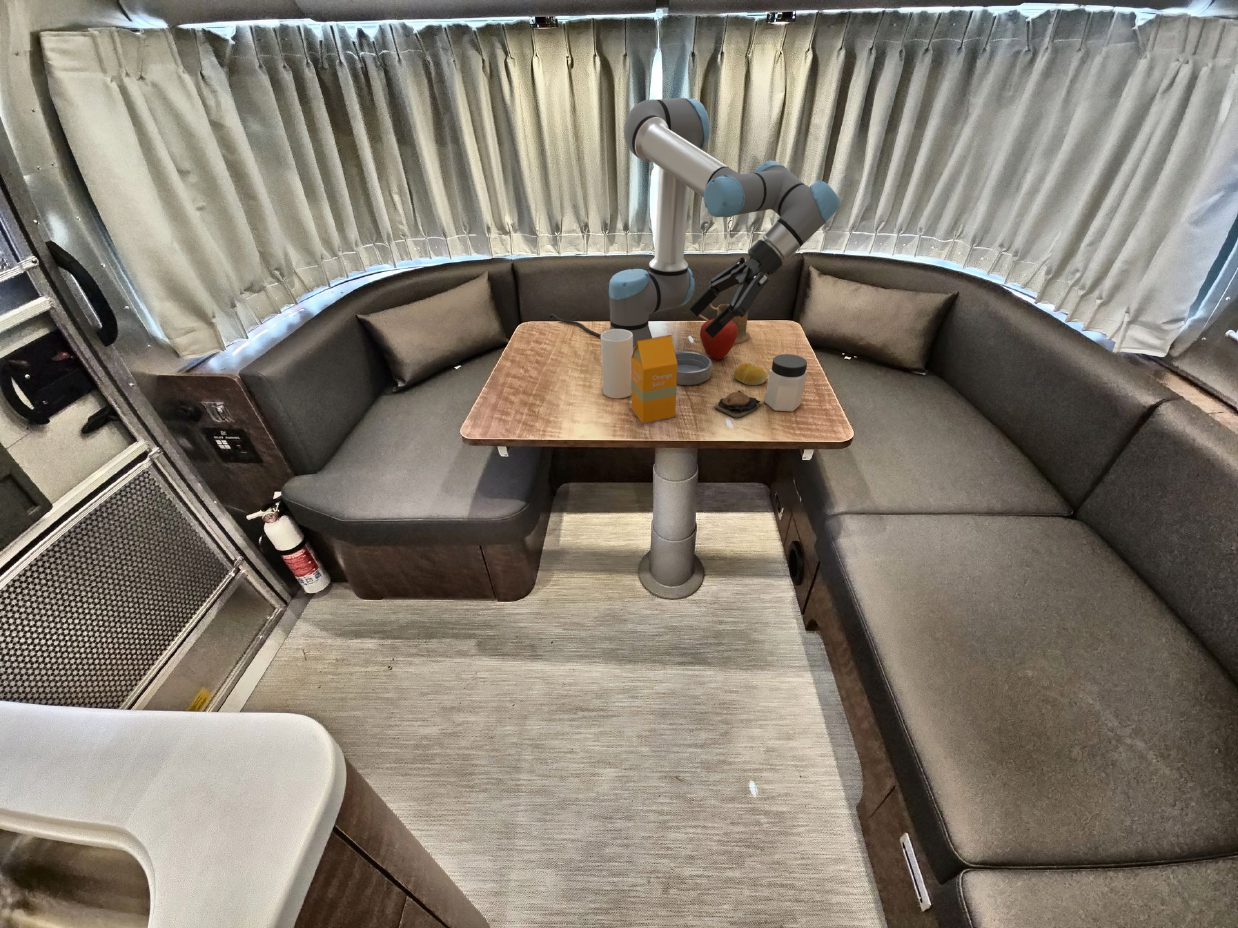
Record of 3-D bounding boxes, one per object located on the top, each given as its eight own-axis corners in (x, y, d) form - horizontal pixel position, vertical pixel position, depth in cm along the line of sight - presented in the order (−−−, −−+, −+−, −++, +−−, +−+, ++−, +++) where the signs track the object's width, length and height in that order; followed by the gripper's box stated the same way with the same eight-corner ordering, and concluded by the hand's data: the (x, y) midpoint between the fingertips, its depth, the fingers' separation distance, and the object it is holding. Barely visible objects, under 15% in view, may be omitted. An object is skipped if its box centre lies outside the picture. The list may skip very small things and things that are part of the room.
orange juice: (675, 416, 133) (679, 340, 121) (642, 423, 130) (643, 347, 119) (662, 402, 139) (664, 329, 127) (631, 409, 136) (630, 334, 125)
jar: (806, 408, 134) (815, 365, 127) (778, 415, 132) (786, 370, 125) (785, 393, 141) (793, 351, 134) (759, 399, 139) (765, 356, 132)
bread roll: (754, 389, 143) (756, 375, 141) (728, 378, 149) (729, 365, 147) (772, 379, 148) (775, 366, 145) (747, 369, 153) (748, 356, 151)
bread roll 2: (737, 420, 131) (739, 407, 128) (711, 407, 136) (712, 395, 134) (764, 405, 136) (766, 393, 134) (738, 394, 141) (739, 381, 139)
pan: (651, 373, 153) (651, 360, 151) (687, 360, 159) (688, 347, 157) (683, 391, 144) (684, 377, 141) (721, 376, 150) (722, 363, 148)
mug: (699, 326, 182) (702, 291, 175) (751, 332, 176) (756, 296, 169) (689, 338, 173) (691, 302, 166) (743, 346, 167) (748, 308, 160)
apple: (701, 348, 166) (704, 310, 159) (736, 351, 164) (740, 313, 157) (695, 363, 158) (698, 324, 150) (732, 367, 155) (736, 327, 148)
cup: (611, 401, 140) (609, 343, 131) (598, 388, 146) (595, 332, 137) (638, 393, 143) (638, 337, 134) (624, 381, 149) (623, 326, 140)
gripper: (806, 278, 106) (726, 354, 114) (762, 248, 127) (697, 314, 134) (784, 252, 103) (704, 332, 110) (743, 226, 123) (677, 295, 130)
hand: (700, 322), depth 122 cm, fingers open, 13 cm apart
